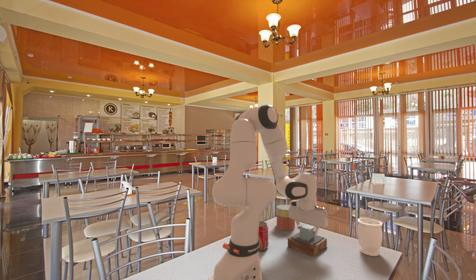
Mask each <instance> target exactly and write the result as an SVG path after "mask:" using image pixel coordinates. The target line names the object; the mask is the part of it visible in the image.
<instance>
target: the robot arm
mask: <svg viewBox="0 0 476 280" xmlns="http://www.w3.org/2000/svg"><path fill="white" fill-rule="evenodd" d="M230 128H231V129H230V139H229V140H230V142H229V144H230V146H229V147H230V148H229V150H230V151H229V162H228V167H227V169H226V171H225V172H224V174H223V175H222V176H221V177H220V178H219V179H217V180H216V182H215V183H214V184H213V187H212V190H211V195H212V198H213V200H214V202H215V203H216V204H217V205H218V206H219V205H220V206H226V207H244V209H243V210H242V211H241V212H239V213H237V214H235V216H233V217H232V219H231V221H230V238H229V241H228V243H226V242H224V243H223V244H222V248H223V249H225V250H226V251H225V253H224V254H223V255H222V256H221V258H220V259H219V261H218V262H217V263H216V264H215V267H214V268H213V274H212V275H211V276H210V277H209V278H208V279H207V280H264V279H263V272H262V265H261V257H260V252H259V249H260V244H259V239H258V232H259V222H260V221H261V218H262V216H263V214H264V212H265V210H267V208H268V207H269V206H271V204H272V203H274V201H275V200H276V198H277V195H281V196H284V197H285V198H286V199H289V200H291V201H289V205H291V206H290V207H289V217H290V218H291V219H294V220H295V225H296V226H297V227H296V228H297V230H300V228H301V227H303V226H302V225H301V223H304V224H307V225H310V226H314V227H315V230H313V234H315V235H318V233H319V230H320V228H322V229H325V228H327V227H328V226H329V219H328V216H329V215H328V214H329V213H328V210H327V209H326V208H325V207H321V206H318V203H317V201H318V199H317V192H318V191H317V189H318V186H317V184H318V183H317V182H318V181H317V177H316V176H315V174H314V173H311V172H307V171H301V172H299V174H297V175H296V176H295V177H292V178H290V177H289V176H288V175H287V173H286V170H285V166H284V163H283V157H284V156H285V155H286V154H287V152H288V143H287V139H286V136H285V133H284V131H283V129H282V127H281V125H280V123H279V114H278V112H277V110H276V108H275V107H274V106H272V105H271V104H264V105H260V106H258V107H254V108H250V109H248V110H246V111H244V112H240V114H238V115H237V116H235V119H234V121H233V122H232V125H231V127H230ZM257 133H258V134H259V135H260V138H261V142H262V145H263V147H264V150H265V152H266V154H267V157H268V159H269V163H270V167H271V170H272V173H273V177H274V180H272V179H270V178H266V177H243V174H244V172H245V171H247V170H249V169H251V168H253V167H254V166H255V165H256V164H257V161H258V151H257V150H258V149H257V136H256V134H257ZM300 222H301V223H300Z"/></svg>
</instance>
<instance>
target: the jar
mask: <svg viewBox="0 0 476 280" xmlns="http://www.w3.org/2000/svg"><path fill="white" fill-rule="evenodd" d="M357 223H358V224H357V229H356V230H357V231H356V233H357V240H358V241H357V242H358V245H359V246H360V247H359V251H360V253H362V254H364V255H367V256H370V257H378V256H380V249H381V246H382V242H383V222H382V221H381V220H378V219H375V218H371V217H359V218H357Z"/></svg>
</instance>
